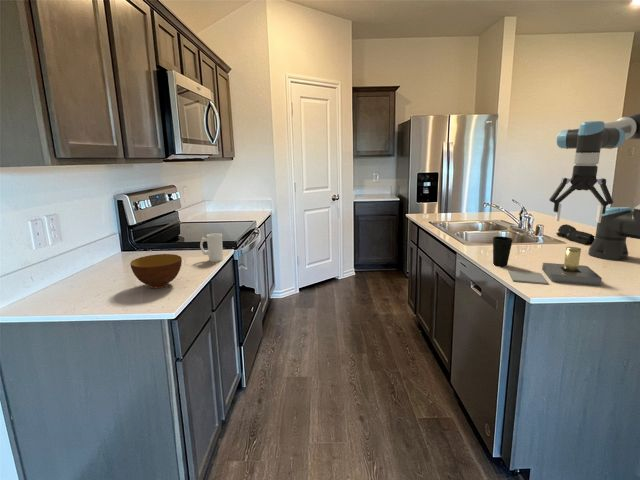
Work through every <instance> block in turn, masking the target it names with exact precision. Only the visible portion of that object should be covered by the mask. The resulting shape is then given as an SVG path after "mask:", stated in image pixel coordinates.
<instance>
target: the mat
mask: <svg viewBox="0 0 640 480" xmlns="http://www.w3.org/2000/svg"><path fill="white" fill-rule="evenodd" d="M508 274H509V276H510V278H511V280H512V282H513V281H514V282H515V283H525V282H526V283H527V284H537V285H549V282H548V280H547V278H545V276H544V275H543V274H542V273H541V272H529V271H527V272H526V271H514V270H508Z"/></svg>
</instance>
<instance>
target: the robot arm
mask: <svg viewBox="0 0 640 480" xmlns="http://www.w3.org/2000/svg"><path fill="white" fill-rule="evenodd" d="M627 140H640V112H639V113H635V114H630V115H628V116H622V117H620V118H618V119H616V120H615V121H610V122H604V121H602V120H600V121H599V120H596V121H595V120H594V121H593V120H592V121H591V120H590V121H583V122H581V123H580V125H579V128H574V129H569V128H568V129H563V130H561V131H560V132H559V133H558V134H557V137H556V146H557V147H558V148H560V149H565V150H570V149H572V150H573V149H575V154H574V163H573V164H575V165H574V166H573V167H572V174H571V178H566V177H562V178H561V180H560V181H561V182H560V184H559V185H558V187H557V188H556V189H555V191H554V192H553V193H552V195H551V197H550V198H549V201H550V202H551V203H553V204H554V205H553V212H554V213H555V218H554V219H555V221H556V222H560V217H561V211H562V210H561V209H562V204H561V202H562V201H563V200H565V199H566V198H567V197H568V196H569V195H570V194H572V193H573V192H575V191H589V192H591V193H592V194H593V195H592V196H594V197H595V199H596V200H597V201H598V202H599V203H600V204H598V205H597V209H596V210H597V211H596V218H595V222H596V223H597V224H596V229H595V231H596V232H595V235H594V236H595V237H594V241H593V243H592V244H591V245H590V247H589V248H588V252H587V253H588V255H589V256H591V257H594V258H598V259H603V260H609V261H610V260H613V261H624V260H623V259H626V260H628V259H629V251H628V245H627V238H629V239H635V240H640V203H639V204H638V205H637V206H635V207H633V209H632V207H629V206H619V207H618V206H616V207H614V206H613V207H607V206H608V205H612V204H614V201H613V198H612V196H611V194H610V191H609V188H608V186H607V179H606V178H603V177H601V178H597V176H598V169H599V167H598V164H599V162H600V155H601V150H602V149H606V150H607V149H608V150H609V149H610V150H612V149H616V148H619V147H620V146H622V145H623V143H624V142H625V141H627ZM569 183H570V184H571V185H570V186H569V187H568V188H567V189H566V190H565V191H564V192H563V189H565V187H566V185H568V184H569ZM596 184H598V185H599V186H600V189H601V191H602V194H603V196H604V197H603V196H602V195H601V193H599V191H598V190H597V189H596V186H595V185H596ZM561 192H563V193H562V194H561ZM560 194H561V195H560ZM558 196H559V197H558ZM627 258H628V259H627Z"/></svg>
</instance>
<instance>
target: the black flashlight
mask: <svg viewBox="0 0 640 480" xmlns="http://www.w3.org/2000/svg"><path fill="white" fill-rule="evenodd" d="M555 233H556V236H557V237H559V238H563V239H567V240H568V241H571V242H573V243H577V244H581V245H584V246H588V245H587V244H592V243H593V241H594V239H595V236H596V235H593V234H592V233H589V232H585V231H582V230H577V228H575V227H574V226H572V225H570V224H566V223H565V224H562V225H560V226H559V228H558V230H557V232H555Z"/></svg>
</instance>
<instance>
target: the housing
mask: <svg viewBox="0 0 640 480" xmlns="http://www.w3.org/2000/svg"><path fill="white" fill-rule="evenodd" d="M563 268H564V263H555V262H554V263H553V262H551V263H550V262H542V269H541V270H542V271H543V273H544V274H545V276H547V278H548V279H549V280H550V281H551V283H562V284H563V283H564V284H575V285H576V284H577V285H585V286H586V285H588V286H601V285H602V280H603V278H602V277H601V276H600V275H599V274H598V273H596V272H595V271H594V270H593V269H591V267H589V266H588V265H582V264H581V265H580V264H579V266H578V272H565V271H563Z"/></svg>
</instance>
